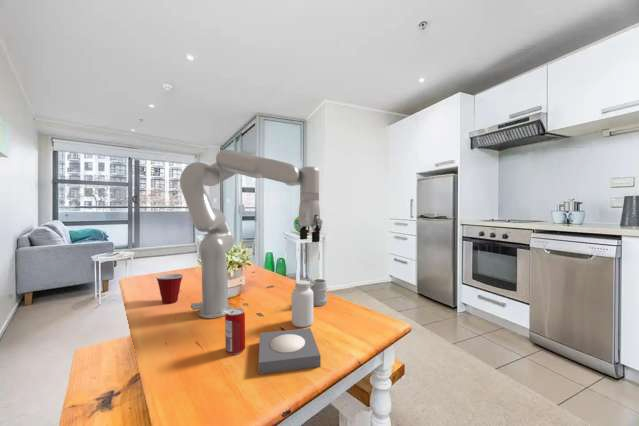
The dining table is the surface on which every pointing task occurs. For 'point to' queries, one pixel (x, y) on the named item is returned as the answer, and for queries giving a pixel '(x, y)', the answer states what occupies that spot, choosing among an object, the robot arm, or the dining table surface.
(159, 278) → the plastic cup
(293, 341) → the base
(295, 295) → the pill bottle
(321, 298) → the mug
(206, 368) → the dining table surface
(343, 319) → the dining table surface
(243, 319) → the soda can
